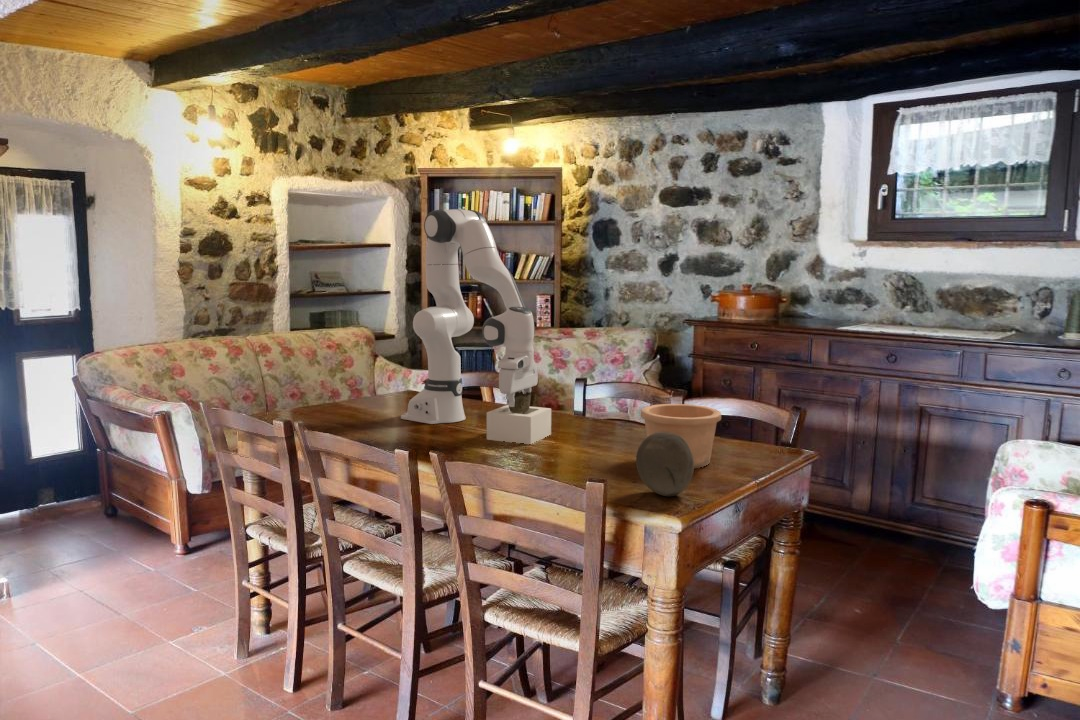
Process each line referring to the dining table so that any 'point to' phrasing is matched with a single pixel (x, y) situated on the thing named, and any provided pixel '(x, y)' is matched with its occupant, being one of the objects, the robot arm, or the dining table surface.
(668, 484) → the dark round stone
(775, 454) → the dining table surface
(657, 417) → the pottery
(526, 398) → the cup
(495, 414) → the cream box
